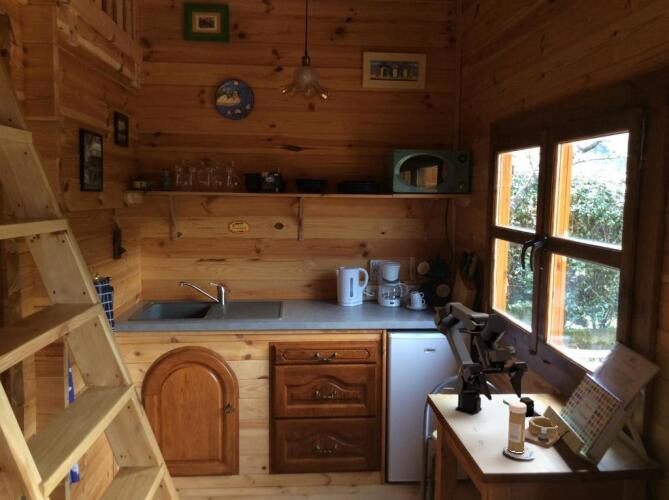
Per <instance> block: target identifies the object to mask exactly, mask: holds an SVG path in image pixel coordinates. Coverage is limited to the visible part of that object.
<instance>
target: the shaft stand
mask: <svg viewBox="0 0 669 500" xmlns="http://www.w3.org/2000/svg"><path fill="white" fill-rule="evenodd" d="M550 419H551V418H550ZM550 419H549V417H546V416H545V417H544V416H539V417H531V418H530V419H528V427H527V428H525V440H524V442H529V443H532V444H535V445H538V446H540V447H544V448H548V449H549V448H550V447H551V446H552V445H553V444H555V443H556V442H557V441H558V440H559V439H560V436H559V435H558V426H557V425H556V426H555V427H553V426H552V425H551V423H550V422H551V421H550Z"/></svg>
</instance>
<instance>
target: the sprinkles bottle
mask: <svg viewBox="0 0 669 500" xmlns="http://www.w3.org/2000/svg"><path fill="white" fill-rule="evenodd" d="M508 410H509V411H508V412H509V413H508V414H509V415H508V416H509V417H508V432H507V433H508V434H507V436H508V437H507V438H508V439H507V440H508V441H507V450H508V449H509V450H511V451H515V452H523V451H524V452H525V429H526V417H525V414H526V404H524V403H522V402H520V401H517V400H515V401H510V402H509V404H508ZM509 450H508V451H509ZM524 452H523V453H524Z"/></svg>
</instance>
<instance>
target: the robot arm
mask: <svg viewBox="0 0 669 500" xmlns="http://www.w3.org/2000/svg"><path fill="white" fill-rule="evenodd" d="M433 322H434V325H435V327H436V330H438V332H439V333H441V334H442V335H443V336H445V337H446V341H447V342H448V345H449V347H450V350H451V352H452V354H453V357H454V360H455V362H456V365H457V366H458V374H457V377H456V378H457V379H456V380H455V381H454V383H453V389H454V391H455V392H456V393H458V394H457V406H456V407H455V408H454V409H455V411H458V412H462V413H466V414H469V415H471V416H473V415H474V414H476V413H478V412H480V411H482V410H483V408H482V407H481V406H482V405H481V404H482V397H481V394H483V395H484V396H485V397H486V398H487V399H488V401H492V399H493V398H492V397H493V396H492V394H491V391H490V388H489V385H488V383H487V382H488V380H487V377H486V376H495V375H497V376H498V375H508V377H509V378H510V379H509V382H510V384H511V387H512V389H513V391H514V393H515V395H516V396H517V397H518V399H520V397H522V379H523V377H524V375H525V374H526V373H528V371H529V370H530V368H529V365H528V364H527V363H526V362H525V361H514V362H513V363H512V364H511V365H510V366H506V365H508V361H513V359H514V358H517V350H516V349H515V347H514V346H507V347H505V349H504V348H503V349H501V348H498V346H497V343H498V342H499V340H500V339H501V338H502V337H503V335H504V333H505V332H506V331H507V330H508V325H507V323H506V321H504V320H503V319H502V318H501V317H499V316H498V315H497V314H496V313H490V314H489V313H485V312H476V311H474V310H472V309H470V308H468V307H466V306H465V305H463V303H461V302H448V303H446V304H445V306H444V307H442V308H441V309H439V310H437V312H436V313H435V315H434V318H433ZM461 322H462V323H464V329H466V331H468V333H470V334H472V333H474V334H475V333H477V334H476V335H474V339H473V341H472V345H475V346H476V348H477V351H478V355H479V357H478V360H479V362H482V364H480V363H479V362H475V363H474V362H473V360H472V358H471V355H470V353H469V351H468V349H467V347H466V343H465V342H464V340H463V337H462V335H461V333H460V331H459V329H460V325H461Z"/></svg>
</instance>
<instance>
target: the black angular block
mask: <svg viewBox="0 0 669 500" xmlns="http://www.w3.org/2000/svg"><path fill="white" fill-rule="evenodd" d="M519 402H522V403H524V404H526V414H525V418H533V417H542V414H540V413H539V412H537V411H536V410H535V401H534V400H533V399H531V397H529V396H525V397H524V396H521V397H520V398H519Z"/></svg>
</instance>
